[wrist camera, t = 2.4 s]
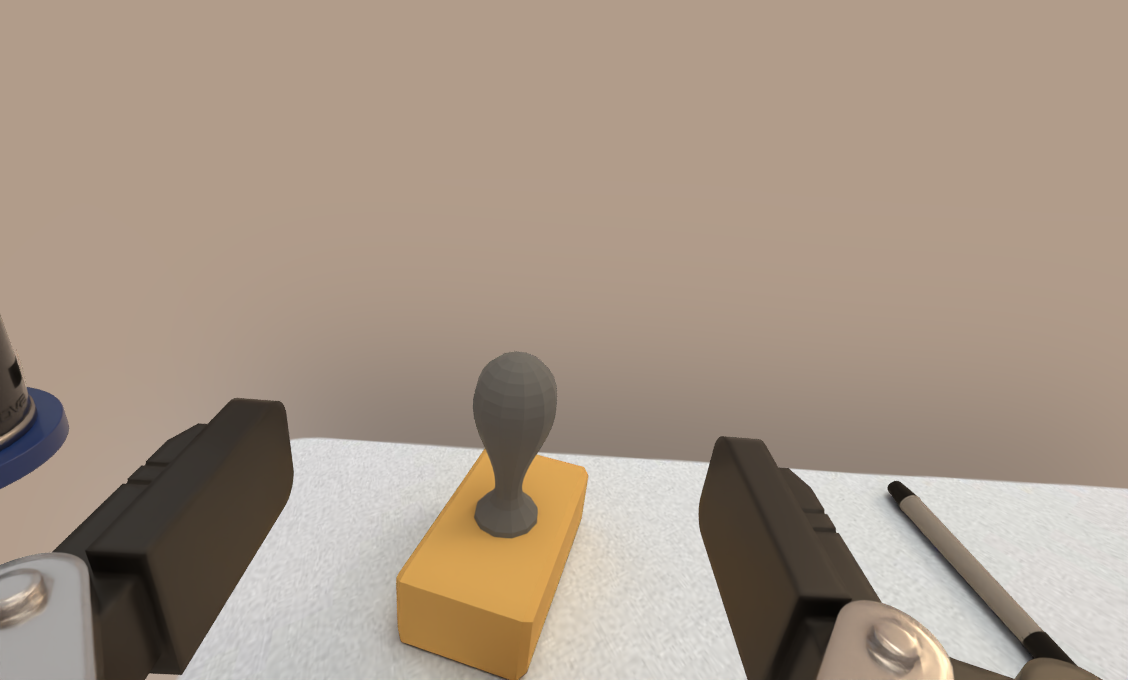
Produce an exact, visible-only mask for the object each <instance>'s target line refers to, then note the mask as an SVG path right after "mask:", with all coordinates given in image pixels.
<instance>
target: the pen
mask: <svg viewBox="0 0 1128 680" xmlns="http://www.w3.org/2000/svg"><path fill="white" fill-rule="evenodd" d="M888 491H889V493H890V494H891V495H892V497H893V498H894V500H895V501H896V503H897V504H898V505H899V507H900V509H901V510H902V511H903V512H905V514H906V515H907V516H908V517H909V518H910V519H911V520H912V521H913V522H914V524H915V525H916V526H917V527H918V528H919V529H920V530H921V531H922V532H923V534H924V535H925V536H926V537H927V538H928V539H929V540H930V541H931V542H932V544H933V545H934V546H935V547H936V548H937V549H938V550H939V551H940V552H941V554H942V555H943V556H944V557H945V558H946V559H947V560H948V561H949V562H950V564H951V565H952V566H953V567H954V568H955V569H956V570H957V571H958V572H959V574H960V575H961V576H962V577H963V578H964V579H965V580H966V581H967V582H968V584H969V585H970V586H971V587H972V588H973V589H974V590H975V591H976V592H977V594H978V595H979V596H980V597H981V598H982V599H983V600H984V601H985V602H986V604H987V605H988V606H989V607H990V608H991V609H992V610H993V611H994V613H995V614H996V615H997V616H998V617H999V618H1000V619H1001V620H1002V621H1003V623H1004V624H1005V625H1006V626H1007V627H1008V628H1009V629H1010V630H1011V631H1012V633H1013V634H1014V635H1015V636H1016V637H1017V638H1018V639H1019V640H1020V641H1021V643H1022V644H1023V646H1024V647H1025V648H1026V649H1027V650H1028V651H1029V652H1030V654H1031V655H1032V656H1033V657H1034V658H1035V659H1036V658H1052V659H1058V660H1061V661H1064V662H1068V663H1070V664H1073V665H1075V666H1077V665H1076V664H1075V663H1074V662H1073V661H1072V660H1071V659H1070V658H1069V657H1068V655H1067V654H1066V653H1065V652H1064V651H1063V650H1062V649H1061V648H1060V647H1059V646H1058V645H1057V644H1056V643H1055V642H1054V641H1053V640H1052V639H1051V638H1050V637H1049V635H1048V634H1047V633H1046V632H1044V631H1043V630H1042V629H1041V628H1040V627H1039V626H1038V625H1037V624H1036V623H1035V621H1034V620H1033V619H1032V618H1031V617H1030V616H1029V615H1028V614H1027V613H1026V612H1025V611H1024V610H1023V609H1022V608H1021V607H1020V605H1019V604H1018V603H1017V602H1016V601H1015V600H1014V599H1013V598H1012V597H1011V596H1010V595H1009V594H1008V593H1007V592H1006V591H1005V589H1004V588H1003V587H1002V586H1001V585H1000V584H999V583H998V582H997V581H996V580H995V579H994V578H993V577H992V576H991V575H990V573H989V572H988V571H987V570H986V569H985V568H984V567H983V566H982V565H981V564H980V563H979V562H978V561H977V560H976V559H975V557H974V556H973V555H972V554H971V553H970V552H969V551H968V550H967V549H966V548H965V547H964V546H963V545H962V544H961V542H960V541H959V540H958V539H957V538H956V537H955V536H954V535H953V534H952V533H951V532H950V531H949V530H948V529H947V528H946V526H945V525H944V524H943V523H942V522H941V521H940V520H939V519H938V518H937V517H936V516H935V515H934V514H933V513H932V512H931V510H930V509H929V508H928V507H927V506H926V505H925V504H924V503H923V502H922V501H921V499H920V498H919V497H918V496H916V495H915V494H914V493H913V492H912V491H911V490H909V489H908V488H907V487H906V486H905V485H903V484H902V483H901V482H899V481H894V482H892V483H890V484H889V485H888Z"/></svg>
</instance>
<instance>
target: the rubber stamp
mask: <svg viewBox="0 0 1128 680" xmlns="http://www.w3.org/2000/svg"><path fill="white" fill-rule="evenodd" d="M556 389H557V388H556V383H555V379H554V376H553V374H552V373H551V371H550V370H549V368H548V367H547V366H546V365H545V364H544V363H543V362H542V361H541V360H540V359H538V358H537V357H536V356H534V355H531V354H528V353H524V352H509V353H504V354H503V355H501V356H499V357H497V358H496V359H494V360H492V361H491V362H489V363H488V364H487V366H486V367H485V368H484V369H483V370H482V373H481V374H480V376H479V379H478V383H477V386H476V390H475V394H474V399H473V412H474V419H475V423H476V427H477V429H478V432H479V435H480V437H481V440H482V442H483V444H484V447H485V449H484V451H483V452H482V453H481V455H480V456H479V458H478V459H477V461H476V462H475V464H474V465H473V466H472V468H471V469H470V471H469V472H468V474H467V475H466V477H465V478H464V479H463V481H462V482H461V484H460V485H459V487H458V488H457V490H456V491H455V493H454V494H453V495H452V497H451V498H450V500H449V501H448V503H447V504H446V506H445V507H444V508H443V510H442V511H441V513H440V514H439V516H438V517H437V519H436V520H435V521H434V523H433V524H432V526H431V527H430V529H429V530H428V532H427V533H426V535H425V536H424V537H423V539H422V540H421V542H420V543H419V545H418V546H417V548H416V549H415V550H414V552H413V553H412V555H411V556H410V558H409V559H408V561H407V562H406V563H405V565H404V566H403V568H402V569H401V571H400V572H399V574H398V576H397V578H396V590H397V620H398V631H399V636H400V640H401V642H404V643H407V644H410V645H412V646H415V647H418V648H421V649H424V650H427V651H430V652H432V653H435V654H438V655H441V656H444V657H447V658H449V659H452V660H455V661H458V662H461V663H464V664H466V665H469V666H472V667H475V668H478V669H481V670H484V671H486V672H489V673H492V674H495V675H498V676H501V677H503V678H506V679H509V680H518V679H519V678H521V677H522V676H523V675H524V674H525V673H527V670H528V667H529V664H530V662H531V659H532V656H533V653H534V650H535V648H536V645H537V642H538V639H539V636H540V634H541V631H542V628H543V625H544V622H545V619H546V617H547V614H548V611H549V608H550V605H551V603H552V600H553V597H554V594H555V591H556V589H557V586H558V583H559V580H560V577H561V574H562V572H563V569H564V566H565V563H566V560H567V558H568V555H569V552H570V549H571V546H572V544H573V541H574V538H575V535H576V532H577V529H578V527H579V524H580V521H581V518H582V512H583V506H584V500H585V493H586V487H587V481H588V474H587V472H586V470H585V468H584V467H581V466H578V465H574V464H570V463H566V462H563V461H559V460H555V459H551V458H547V457H544V456H540V455H537V453H538V451H539V450H540V448H541V447H542V445H543V443H544V442H545V440H546V438H547V436H548V435H549V432H550V430H551V428H552V425H553V422H554V419H555V413H556V404H557V390H556Z"/></svg>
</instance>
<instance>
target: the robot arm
mask: <svg viewBox="0 0 1128 680" xmlns="http://www.w3.org/2000/svg"><path fill="white" fill-rule="evenodd" d="M17 356H18V354H17ZM18 361H19V366H18V363H17V359H16V356H15V354H14V351H13V348H12V346H11V343H10V340H9V337H8V335H7V332H6V329H5V326H4V323H3V321H2V318H1V315H0V451H1V450H3V449H4V448H6V447H8V446H9V445H11V444H12V443H14V442H15V441H17V440H18V439H19V438H21V437H22V436H23V435H24V434H25V433H27V432H28V431H29V429H30V428H31V427H32V426H33V424H34V423H35V421H36V419H37V409H36V406H35V403H34V401H33V399H32V397H31V396H30V395H29V393H28V390H27V388H26V385H25V384H26V381H25V376H24V372H23V367H22V365H21V362H20V359H19V356H18ZM19 367H20V368H19ZM20 370H21V371H20ZM21 373H22V374H21ZM22 376H23V377H22ZM24 381H25V382H24ZM293 476H294V471H293V462H292V454H291V446H290V439H289V431H288V423H287V416H286V410H285V407H284V405H283V404H282V403H281V402H280V401H270V400H269V401H268V400H257V399H244V398H234V399H232V400H231V401H230V402H228V404H227V405H226V406H225V407H224V408H223V409H222V410H221V411H220V412H219V413H218V414H217V415H216V416H215V417H214V418H213V419H212V420H211V421H210V422H209V423H208V424H197V425H195V426H193V427H191V428H189V429H188V430H186V431H184V432H182V433H180V434H179V435H176V436H175V437H173V438H171V439H169V440H167V441H166V442H165V443H164V444H163V445H162V446H161V447H160V448H159V449H158V450H157V451H156V452H155V453H154V454H153V455H152V456H151V457H150V458H149V459H148V460H147V461H146V465H145V466H141V467H140V468H139V469H138V470H136V471H135V472H134V473H133V474H132V475H131V476H130V477H129V478H128V482H127V484H122V485H121V486H120V487H119V488H118V489H117V490H116V491H115V492H114V493H113V494H112V495H111V496H110V497H108V499H107V500H105V501H104V502H103V503H102V504H101V505H100V506H99V507H98V508H97V509H96V510H95V511H94V512H93V513H92V514H91V515H90V516H89V517H88V518H87V519H86V520H85V521H84V522H83V523H82V524H81V525H79V526H78V527H77V529H75V530H74V531H73V532H72V533H71V534H70V535H69V536H68V537H67V538H66V539H65V540H64V541H63V542H62V543H61V544H60V545H59V546H58V547H57V548H56V549H55V550H54V551H53V552H52V553H41V554H35V555H31V556H26V557H22V558H19V559H15V560H12V561H10V562H7V563H4V564H2V565H0V680H145V679H146V677H147V676H148V674H149V673H153V674H174V675H182V674H183V672H184V670H185V669H186V667H187V666H188V664H189V662H190V661H191V659H192V657H193V656H194V654H195V652H196V651H197V649H198V648H199V646H200V644H201V643H202V641H203V639H204V638H205V636H206V634H207V633H208V631H209V630H210V628H211V626H212V625H213V623H214V621H215V620H216V618H217V616H218V615H219V613H220V612H221V610H222V608H223V607H224V605H225V603H226V602H227V600H228V598H229V597H230V595H231V594H232V592H233V590H234V589H235V587H236V585H237V584H238V582H239V580H240V579H241V577H242V576H243V574H244V572H245V571H246V569H247V567H248V566H249V564H250V562H251V561H252V559H253V558H254V556H255V554H256V553H257V551H258V549H259V548H260V546H261V544H262V543H263V541H264V540H265V538H266V536H267V535H268V533H269V531H270V530H271V528H272V526H273V525H274V523H275V522H276V520H277V518H278V517H279V515H280V513H281V512H282V510H283V508H284V507H285V505H286V503H287V501H288V499H289V496H290V493H291V489H292V484H293ZM699 527H700V532H701V535H702V539H703V542H704V545H705V548H706V551H707V554H708V557H709V561H710V564H711V567H712V570H713V573H714V576H715V579H716V582H717V586H718V589H719V592H720V595H721V598H722V601H723V604H724V607H725V611H726V614H727V617H728V620H729V623H730V626H731V629H732V632H733V636H734V639H735V642H736V645H737V648H738V651H739V654H740V657H741V661H742V664H743V667H744V670H745V673H746V676H747V679H748V680H1102V679H1100V678H1099V677H1097V676H1095V675H1094V674H1092V673H1090V672H1088V671H1086V670H1084V669H1082V668H1080V667H1078V666H1075V665H1073V664H1070V663H1068V662H1064V661H1061V660H1058V659H1052V658H1036V659H1032V660H1030V661H1028V662H1027V663H1026V664H1025V665H1024V667H1023V668H1022V669H1021V671H1020V672H1019V674H1018V675H1017V676H1016V678H1015V679H1013V678H1010V677H1007V676H1004V675H1001V674H998V673H995V672H992V671H989V670H986V669H983V668H980V667H977V666H974V665H971V664H968V663H965V662H962V661H959V660H956V659H953V658H951V657H949V656H948V654H947V653H946V651H945V649H944V648H943V646H942V645H941V644H940V642H939V641H938V640H937V639H936V638H935V636H934V635H933V634H932V633H931V632H930V631H929V630H928V629H926V628H925V627H924V626H923V625H922V624H920V623H919V622H918V621H916V620H915V619H914V618H912V617H911V616H909V615H907V614H906V613H904V612H902V611H900V610H898V609H896V608H894V607H892V606H889V605H886V604H883V603H882V602H881V601H880V599H879V597H878V596H877V594H876V593H875V591H874V589H873V588H872V586H871V584H870V583H869V581H868V580H867V578H866V576H865V575H864V573H863V571H862V570H861V568H860V567H859V565H858V563H857V562H856V560H855V559H854V557H853V555H852V554H851V552H850V550H849V549H848V547H847V546H846V544H845V542H844V541H843V539H842V537H841V536H840V534H839V533H836V528H835V526H834V524H833V523H832V521H831V520H830V518H829V516H828V515H827V514H825V513H824V508H823V507H822V505H821V503H820V502H819V500H818V499H817V497H816V495H815V494H814V492H813V490H812V489H811V488H810V487H809V486H808V485H807V484H806V483H805V482H804V481H802V480H801V479H800V478H799V477H798V476H797V475H796V474H794V473H793V472H792V471H791V470H790V469H789V468H778V467H777V465H776V463H775V461H774V459H773V458H772V456H771V454H770V452H769V450H768V449H767V447H766V445H765V444H764V442H763V441H762V440H759V439H749V438H736V437H723V436H722V437H719V438H718V440H717V441H716V443H715V446H714V449H713V453H712V457H711V460H710V464H709V468H708V472H707V475H706V479H705V483H704V486H703V490H702V494H701V498H700V503H699Z"/></svg>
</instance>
